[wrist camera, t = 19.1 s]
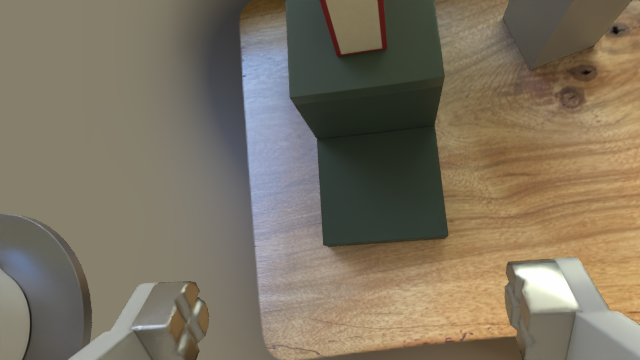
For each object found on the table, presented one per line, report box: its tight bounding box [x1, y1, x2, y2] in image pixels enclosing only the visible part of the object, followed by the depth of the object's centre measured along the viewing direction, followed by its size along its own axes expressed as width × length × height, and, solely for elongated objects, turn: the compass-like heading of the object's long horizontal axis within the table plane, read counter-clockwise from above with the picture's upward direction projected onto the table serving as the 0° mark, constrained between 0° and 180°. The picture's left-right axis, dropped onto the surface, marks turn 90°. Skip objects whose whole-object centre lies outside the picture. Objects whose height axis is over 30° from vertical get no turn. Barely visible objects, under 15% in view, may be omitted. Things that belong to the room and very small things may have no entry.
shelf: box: [285, 0, 448, 247], centre depth 40 cm, size 12×25×14 cm, turn 3°
